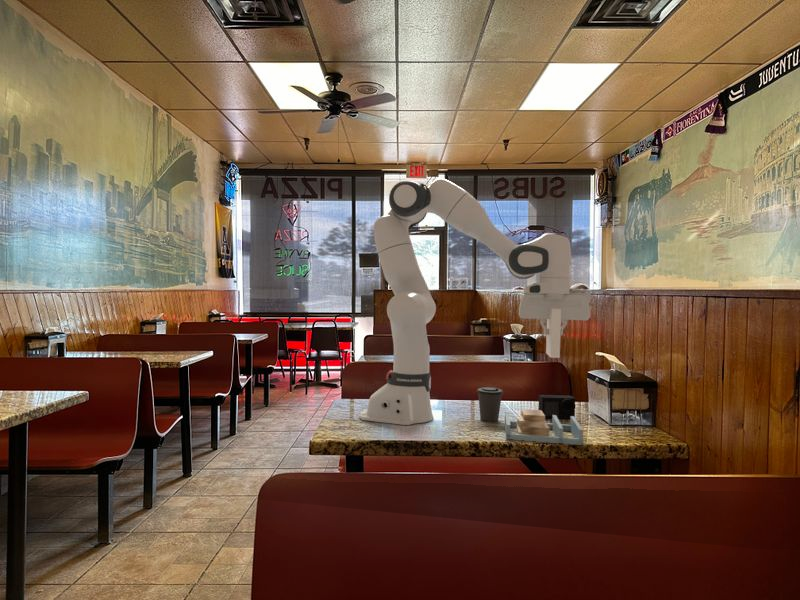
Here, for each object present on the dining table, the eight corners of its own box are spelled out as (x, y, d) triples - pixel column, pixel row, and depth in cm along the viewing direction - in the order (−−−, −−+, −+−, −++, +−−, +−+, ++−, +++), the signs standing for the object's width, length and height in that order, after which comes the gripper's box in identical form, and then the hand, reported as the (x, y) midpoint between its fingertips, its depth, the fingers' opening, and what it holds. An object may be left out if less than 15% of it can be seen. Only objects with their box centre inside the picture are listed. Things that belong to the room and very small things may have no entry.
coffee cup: (502, 424, 152) (503, 390, 152) (475, 422, 154) (476, 389, 154) (502, 418, 160) (503, 386, 160) (476, 416, 162) (477, 384, 162)
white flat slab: (550, 357, 146) (552, 308, 146) (546, 353, 158) (547, 307, 157) (559, 358, 145) (561, 308, 145) (554, 353, 157) (555, 307, 157)
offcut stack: (518, 437, 138) (518, 415, 138) (516, 428, 148) (516, 407, 148) (549, 440, 136) (550, 417, 136) (545, 430, 146) (546, 409, 146)
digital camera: (542, 420, 159) (543, 397, 159) (537, 416, 164) (538, 394, 164) (576, 421, 159) (576, 398, 159) (570, 416, 164) (570, 395, 164)
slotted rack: (506, 439, 136) (506, 424, 136) (504, 425, 151) (505, 412, 151) (582, 445, 132) (583, 429, 132) (573, 430, 147) (574, 416, 147)
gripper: (589, 289, 153) (587, 335, 153) (519, 287, 156) (517, 332, 156) (593, 288, 146) (592, 337, 146) (520, 287, 150) (519, 334, 150)
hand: (553, 334), depth 151 cm, fingers closed on white flat slab, 2 cm apart
